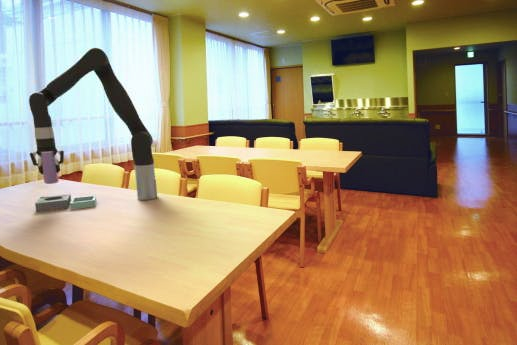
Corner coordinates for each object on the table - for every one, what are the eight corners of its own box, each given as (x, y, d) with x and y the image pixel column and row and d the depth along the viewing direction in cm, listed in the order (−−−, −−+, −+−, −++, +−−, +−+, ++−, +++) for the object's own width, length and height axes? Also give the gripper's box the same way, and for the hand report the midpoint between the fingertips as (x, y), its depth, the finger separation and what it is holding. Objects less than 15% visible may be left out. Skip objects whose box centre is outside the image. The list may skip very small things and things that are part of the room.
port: (71, 201, 181) (70, 192, 181) (68, 208, 170) (67, 198, 169) (41, 205, 177) (40, 196, 176) (36, 212, 165) (34, 202, 164)
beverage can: (52, 184, 168) (47, 151, 165) (41, 184, 169) (36, 152, 166) (61, 181, 173) (57, 150, 171) (50, 181, 175) (46, 150, 172)
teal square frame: (96, 201, 181) (95, 195, 180) (95, 206, 171) (94, 200, 171) (73, 203, 177) (72, 197, 176) (70, 209, 167) (69, 203, 167)
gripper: (63, 135, 173) (68, 170, 176) (28, 137, 168) (34, 173, 171) (61, 136, 166) (66, 173, 169) (24, 139, 161) (30, 176, 164)
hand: (50, 173), depth 170 cm, fingers closed on beverage can, 5 cm apart
